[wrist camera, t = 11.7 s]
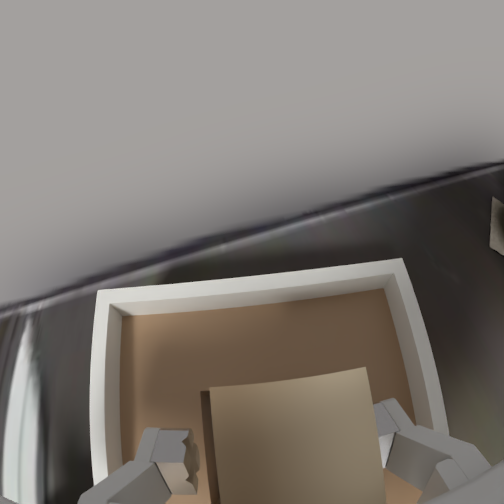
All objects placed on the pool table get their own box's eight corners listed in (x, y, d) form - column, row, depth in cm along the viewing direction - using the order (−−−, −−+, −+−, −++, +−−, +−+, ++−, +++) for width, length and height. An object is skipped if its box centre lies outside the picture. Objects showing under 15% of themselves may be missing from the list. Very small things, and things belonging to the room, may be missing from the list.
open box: (372, 301, 20) (402, 258, 15) (411, 523, 11) (456, 542, 6) (134, 326, 19) (97, 290, 15) (149, 555, 11) (113, 585, 6)
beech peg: (303, 404, 16) (365, 366, 7) (312, 469, 14) (387, 505, 5) (231, 412, 15) (209, 387, 7) (238, 479, 13) (225, 535, 5)
